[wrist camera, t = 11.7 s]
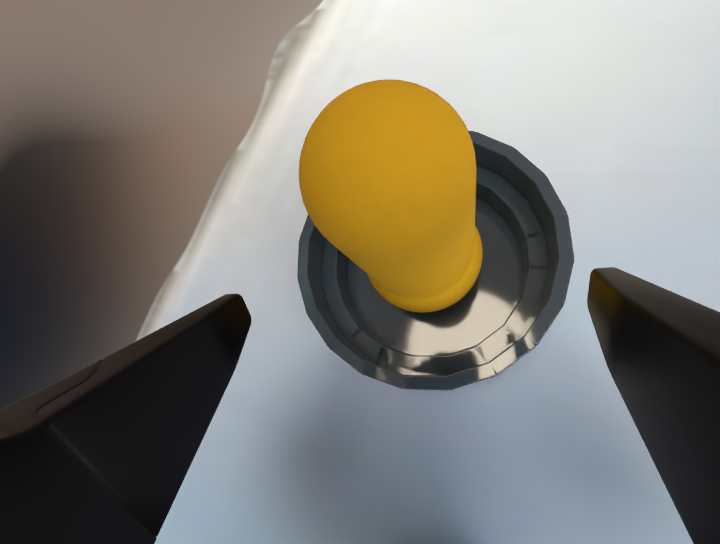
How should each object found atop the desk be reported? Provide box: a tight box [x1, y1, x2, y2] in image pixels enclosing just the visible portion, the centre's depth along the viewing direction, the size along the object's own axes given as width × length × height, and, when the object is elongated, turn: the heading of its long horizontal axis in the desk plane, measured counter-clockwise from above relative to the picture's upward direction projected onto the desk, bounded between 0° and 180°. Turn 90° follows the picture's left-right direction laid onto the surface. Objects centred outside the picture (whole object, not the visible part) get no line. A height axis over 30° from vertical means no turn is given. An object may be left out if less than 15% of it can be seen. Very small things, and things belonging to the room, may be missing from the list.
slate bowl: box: [298, 131, 574, 390], centre depth 19 cm, size 13×13×4 cm
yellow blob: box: [299, 80, 483, 313], centre depth 14 cm, size 6×6×14 cm
